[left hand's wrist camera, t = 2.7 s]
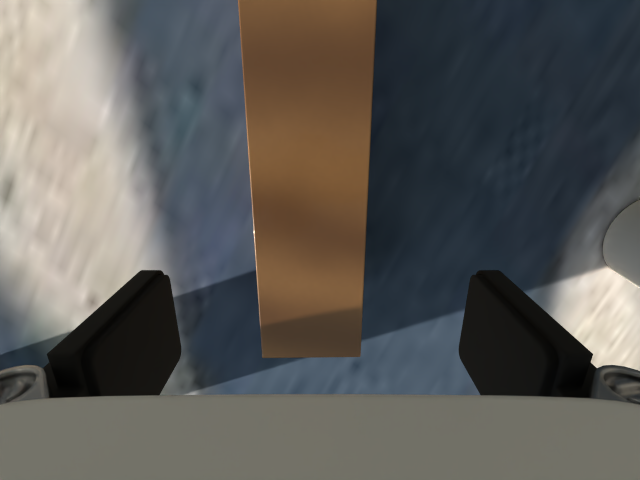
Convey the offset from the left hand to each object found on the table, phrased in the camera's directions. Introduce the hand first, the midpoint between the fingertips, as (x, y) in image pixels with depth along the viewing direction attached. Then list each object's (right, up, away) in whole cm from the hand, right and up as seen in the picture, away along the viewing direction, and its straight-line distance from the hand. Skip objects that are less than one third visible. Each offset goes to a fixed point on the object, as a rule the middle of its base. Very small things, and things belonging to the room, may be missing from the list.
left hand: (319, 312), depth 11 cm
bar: (-1, +26, +8) cm, 27 cm away
